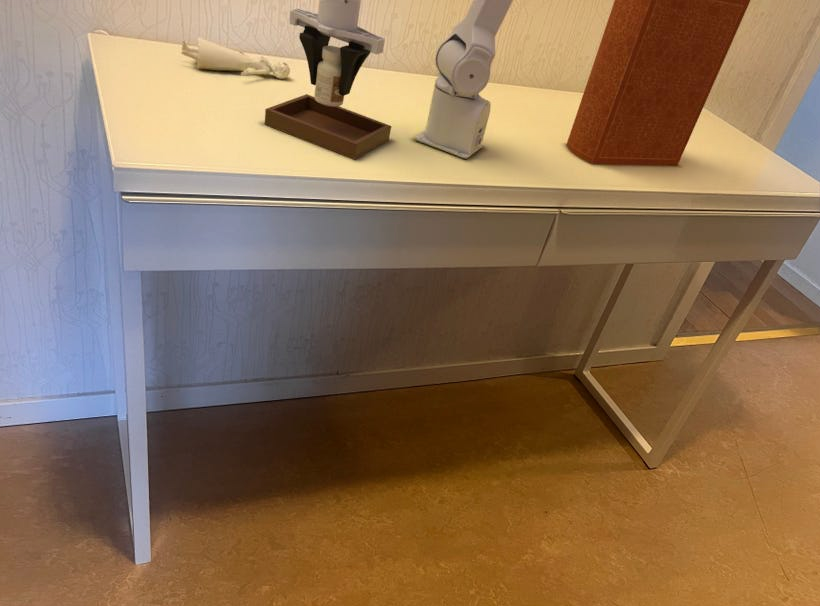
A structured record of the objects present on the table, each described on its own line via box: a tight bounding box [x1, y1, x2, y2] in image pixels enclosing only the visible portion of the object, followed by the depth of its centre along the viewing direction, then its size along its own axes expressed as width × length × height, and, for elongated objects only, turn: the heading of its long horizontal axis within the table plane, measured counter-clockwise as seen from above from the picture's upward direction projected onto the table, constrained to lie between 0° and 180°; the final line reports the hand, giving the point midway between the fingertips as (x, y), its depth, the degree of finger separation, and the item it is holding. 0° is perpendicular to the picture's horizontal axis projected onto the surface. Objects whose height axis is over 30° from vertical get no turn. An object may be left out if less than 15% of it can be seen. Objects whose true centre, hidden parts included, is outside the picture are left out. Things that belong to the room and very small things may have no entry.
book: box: [565, 0, 751, 167], centre depth 123 cm, size 23×8×30 cm, turn 117°
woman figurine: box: [181, 36, 291, 80], centre depth 120 cm, size 12×4×18 cm
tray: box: [264, 93, 392, 160], centre depth 108 cm, size 16×12×2 cm
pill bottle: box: [313, 45, 345, 107], centre depth 104 cm, size 4×4×8 cm
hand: (329, 88), depth 105 cm, fingers closed on pill bottle, 4 cm apart
